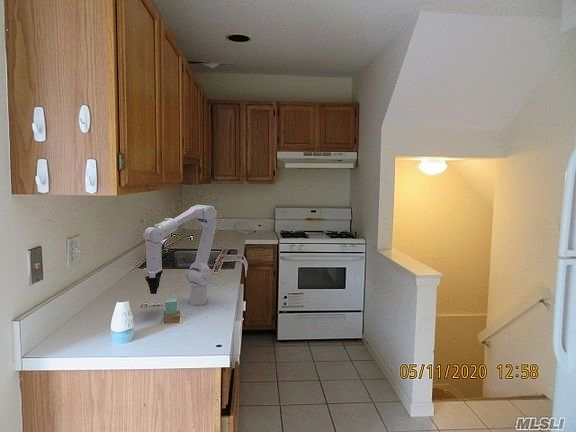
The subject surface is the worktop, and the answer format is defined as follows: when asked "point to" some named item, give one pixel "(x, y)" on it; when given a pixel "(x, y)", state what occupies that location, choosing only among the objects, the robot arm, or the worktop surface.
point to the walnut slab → (171, 318)
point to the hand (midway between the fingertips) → (154, 290)
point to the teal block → (171, 307)
